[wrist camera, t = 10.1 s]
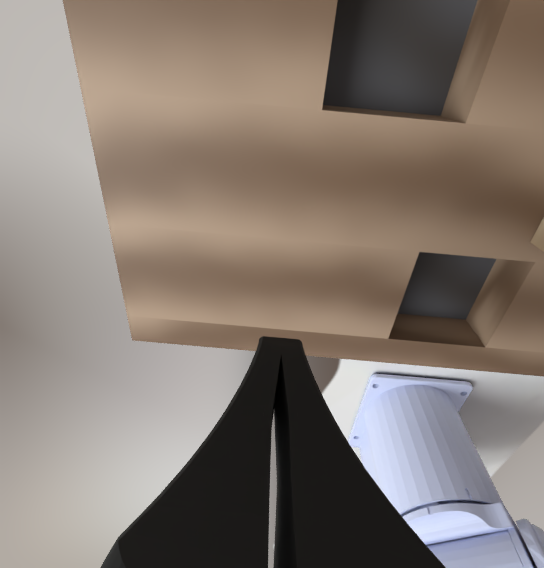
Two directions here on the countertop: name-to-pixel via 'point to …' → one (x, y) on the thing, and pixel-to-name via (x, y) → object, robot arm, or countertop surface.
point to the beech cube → (539, 236)
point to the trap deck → (324, 173)
